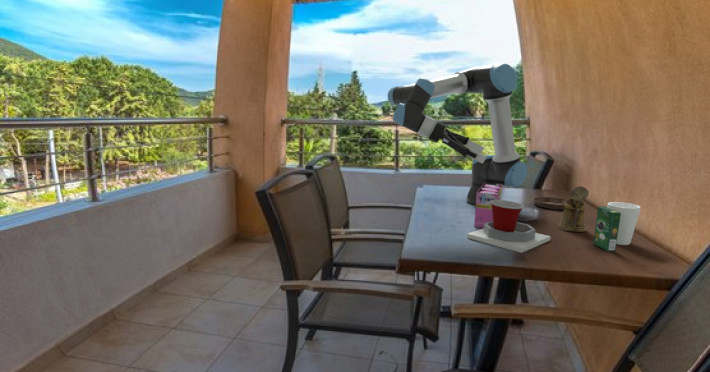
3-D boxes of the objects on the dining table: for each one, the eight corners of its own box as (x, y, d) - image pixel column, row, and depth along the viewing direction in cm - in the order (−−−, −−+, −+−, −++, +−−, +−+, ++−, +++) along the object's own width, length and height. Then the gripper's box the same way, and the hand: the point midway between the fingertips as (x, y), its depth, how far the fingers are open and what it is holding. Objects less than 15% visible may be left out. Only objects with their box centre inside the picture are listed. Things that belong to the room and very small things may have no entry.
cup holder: (497, 227, 157) (498, 216, 157) (550, 240, 143) (551, 227, 142) (466, 237, 144) (467, 225, 144) (521, 252, 130) (522, 239, 129)
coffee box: (616, 252, 132) (622, 212, 129) (607, 252, 131) (613, 212, 129) (601, 244, 139) (605, 206, 137) (592, 244, 139) (597, 206, 137)
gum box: (481, 213, 181) (483, 182, 178) (500, 215, 177) (503, 183, 175) (473, 226, 159) (476, 192, 157) (495, 229, 156) (498, 193, 153)
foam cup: (596, 239, 144) (601, 203, 142) (614, 236, 148) (619, 201, 146) (623, 247, 136) (628, 209, 133) (641, 244, 139) (647, 207, 137)
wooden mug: (561, 234, 150) (566, 185, 147) (557, 224, 163) (562, 179, 160) (589, 237, 147) (595, 187, 144) (582, 227, 160) (588, 181, 156)
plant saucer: (533, 201, 207) (533, 195, 206) (572, 204, 200) (573, 198, 199) (531, 208, 191) (532, 202, 191) (574, 212, 184) (575, 206, 183)
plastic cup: (523, 242, 135) (527, 206, 133) (489, 240, 137) (491, 204, 135) (518, 233, 145) (521, 200, 143) (486, 231, 147) (488, 198, 145)
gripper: (429, 131, 168) (476, 155, 167) (425, 146, 145) (480, 173, 144) (438, 115, 165) (486, 138, 164) (435, 127, 142) (491, 155, 141)
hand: (483, 155), depth 154 cm, fingers open, 13 cm apart
